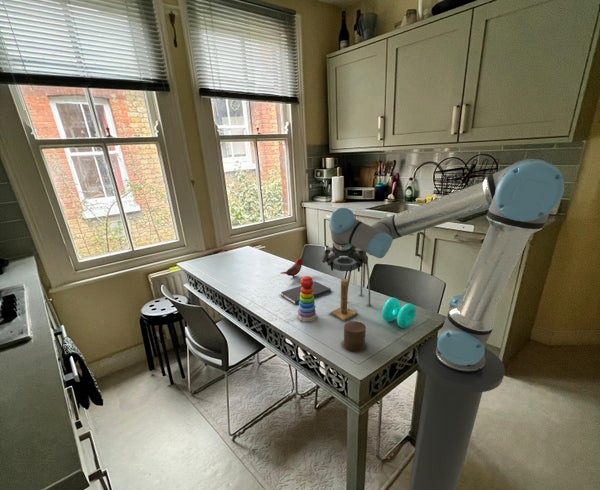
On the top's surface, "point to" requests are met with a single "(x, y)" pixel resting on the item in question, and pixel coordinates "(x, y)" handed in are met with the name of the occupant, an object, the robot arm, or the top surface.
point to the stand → (354, 336)
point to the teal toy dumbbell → (398, 312)
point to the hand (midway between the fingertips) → (345, 268)
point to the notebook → (295, 292)
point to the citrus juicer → (361, 280)
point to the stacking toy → (306, 300)
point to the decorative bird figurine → (294, 268)
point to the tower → (344, 304)
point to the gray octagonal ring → (344, 264)
